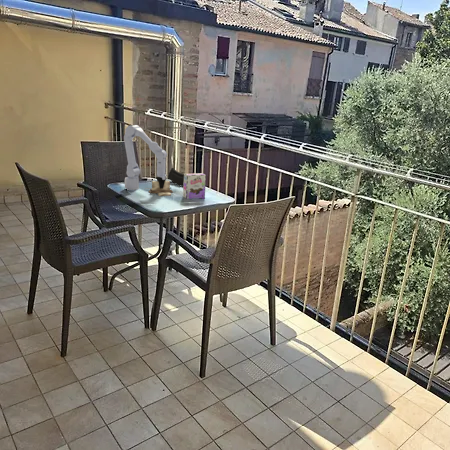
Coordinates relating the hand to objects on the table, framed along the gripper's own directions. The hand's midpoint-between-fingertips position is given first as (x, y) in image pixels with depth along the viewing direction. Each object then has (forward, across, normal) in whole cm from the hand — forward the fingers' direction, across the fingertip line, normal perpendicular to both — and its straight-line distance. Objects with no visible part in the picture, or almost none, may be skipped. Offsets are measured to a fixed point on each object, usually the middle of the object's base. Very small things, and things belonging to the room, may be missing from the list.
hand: (160, 188), depth 283 cm
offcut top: (+3, -8, 0) cm, 9 cm away
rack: (+4, 0, 0) cm, 4 cm away
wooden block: (+3, 0, 0) cm, 3 cm away
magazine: (+4, +24, -22) cm, 33 cm away
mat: (+4, +10, 0) cm, 11 cm away
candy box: (+4, -17, -18) cm, 25 cm away
